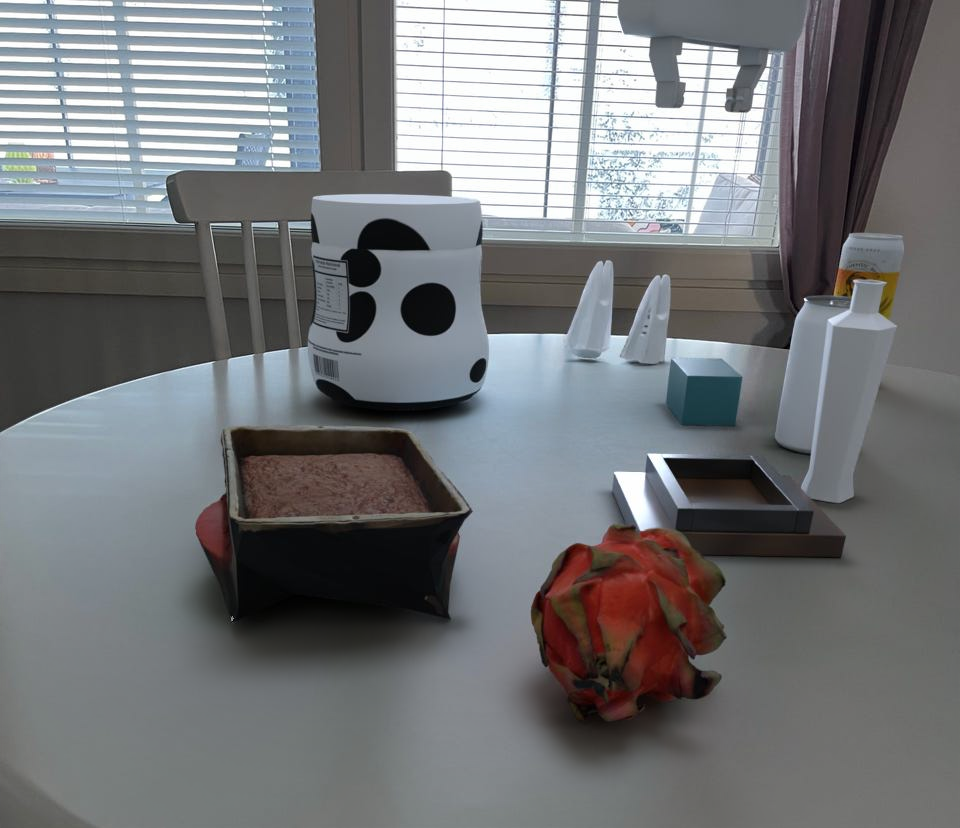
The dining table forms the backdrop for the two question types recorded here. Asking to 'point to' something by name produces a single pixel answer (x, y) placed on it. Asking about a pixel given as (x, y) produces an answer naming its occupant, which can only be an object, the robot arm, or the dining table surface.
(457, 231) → the milk container
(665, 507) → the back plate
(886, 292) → the beer can
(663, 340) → the shaker set
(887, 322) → the perfume bottle
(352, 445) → the baking dish
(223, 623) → the dining table surface
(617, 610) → the dragon fruit
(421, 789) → the dining table surface
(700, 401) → the teal rectangular block
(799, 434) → the can
